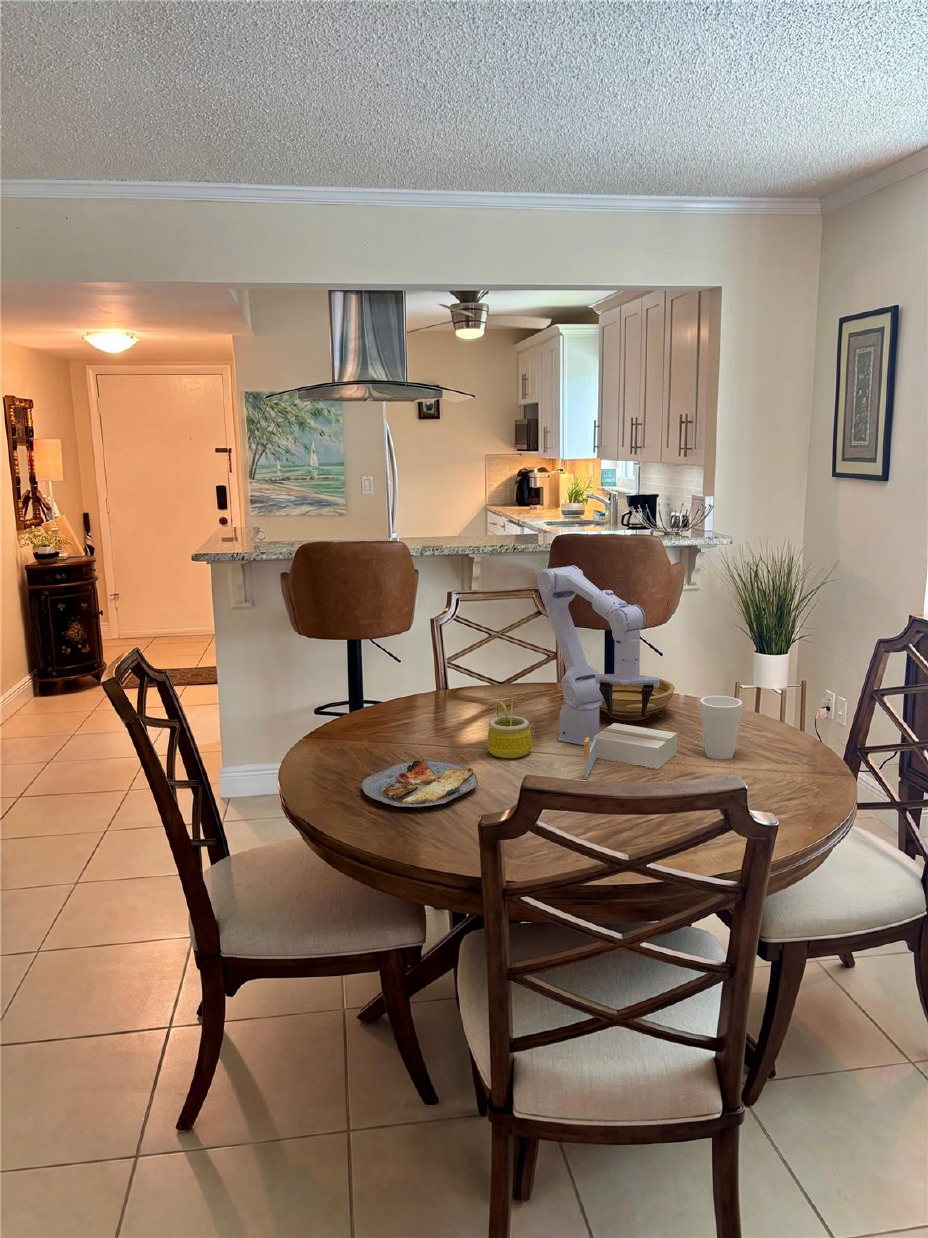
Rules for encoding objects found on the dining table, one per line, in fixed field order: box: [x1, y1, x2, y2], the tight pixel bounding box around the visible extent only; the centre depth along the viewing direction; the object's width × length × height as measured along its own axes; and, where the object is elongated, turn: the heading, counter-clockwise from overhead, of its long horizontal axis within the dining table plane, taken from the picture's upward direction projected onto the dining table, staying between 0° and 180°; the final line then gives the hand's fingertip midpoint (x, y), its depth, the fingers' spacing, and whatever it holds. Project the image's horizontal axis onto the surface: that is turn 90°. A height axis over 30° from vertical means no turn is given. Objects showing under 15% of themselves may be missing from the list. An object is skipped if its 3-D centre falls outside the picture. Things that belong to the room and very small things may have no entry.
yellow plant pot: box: [486, 698, 534, 759], centre depth 213 cm, size 13×11×12 cm
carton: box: [593, 722, 678, 770], centre depth 209 cm, size 16×12×5 cm
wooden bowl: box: [599, 675, 676, 721], centre depth 240 cm, size 30×24×8 cm
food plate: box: [361, 759, 479, 809], centre depth 192 cm, size 25×23×4 cm
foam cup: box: [699, 695, 743, 760], centre depth 207 cm, size 10×9×13 cm
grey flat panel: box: [583, 737, 598, 778], centre depth 200 cm, size 14×1×9 cm, turn 163°
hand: (626, 715), depth 206 cm, fingers open, 7 cm apart
